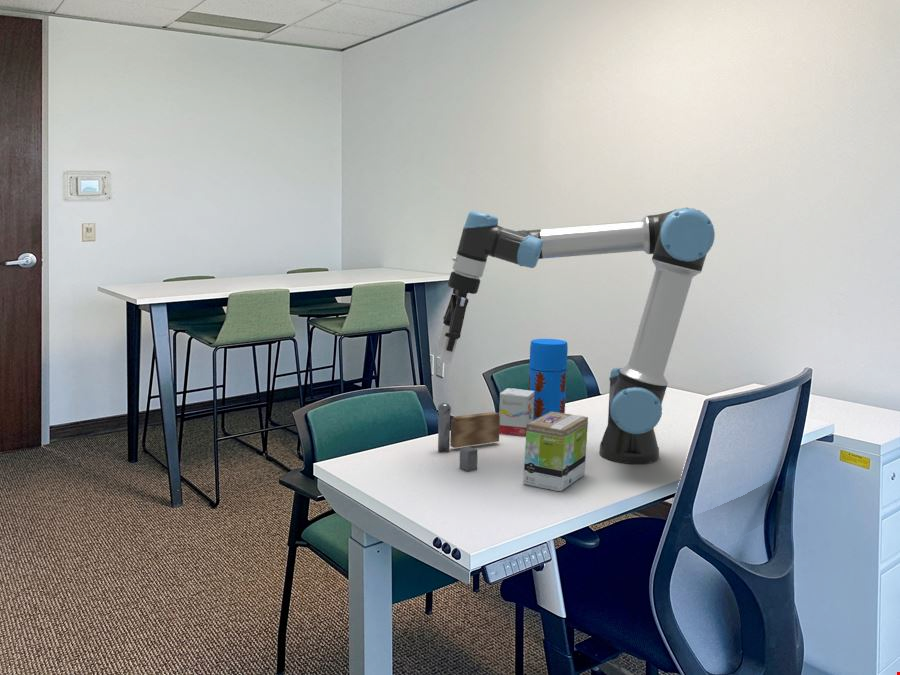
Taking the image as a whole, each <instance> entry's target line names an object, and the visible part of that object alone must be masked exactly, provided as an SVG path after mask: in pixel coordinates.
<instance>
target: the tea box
mask: <svg viewBox="0 0 900 675" xmlns="http://www.w3.org/2000/svg"><path fill="white" fill-rule="evenodd" d="M588 425H589V417H588V416H584V415H579V414H578V415H577V414H569V413H566V412H565V413H559V412H552V411H551V412H549V413H547V414H545V415H543V416H541V417H539V418H537V419H535V420H533V421H531V422H529V423H527V429H526V436H525V444H524V445H525V446H524V460H523V461H524V464H523V467H524V469H523V479H522V481H523V482H522V484H524V485H527V486H531V487H535V488H540V489H546V490H549V489H550V490H551V491H555V492H562V491H563V490H564V489H566V488H568V487H569V486H571V485H572V484H573V483H574V482H576V481H577V480H578V479H580V478H581V477H583V476H584V475H585V470H586V460H587V459H586V456H587V441H588ZM550 490H549V491H550Z"/></svg>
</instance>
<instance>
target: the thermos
mask: <svg viewBox="0 0 900 675" xmlns="http://www.w3.org/2000/svg"><path fill="white" fill-rule="evenodd" d="M568 346H569V345H568V341H566V340H563V339H555V338H536V339H531V340H530V346H529V369H528V370H529V371H528V390H530V391H535V396H534V415H533V420H535V419H537V418H539V417H541V416H543V415H545V414H547V413H549V412H551V411H552V412H559V413H565V414H566V396H567V394H566V393H567V375H568V374H567V370H568V350H569V349H568Z"/></svg>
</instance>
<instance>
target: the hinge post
mask: <svg viewBox="0 0 900 675" xmlns="http://www.w3.org/2000/svg"><path fill="white" fill-rule="evenodd" d="M437 411H438V423H437V425H438V426H437V427H438V429H437V430H438V434H437V440H438V441H437V452H438V451H439V452H438V453H441V452H447V453H450V447H451V446H450V434H451V412H452V407H451V405H450V403H447V402H442V403H440V404H439V405H438V406H437Z"/></svg>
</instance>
